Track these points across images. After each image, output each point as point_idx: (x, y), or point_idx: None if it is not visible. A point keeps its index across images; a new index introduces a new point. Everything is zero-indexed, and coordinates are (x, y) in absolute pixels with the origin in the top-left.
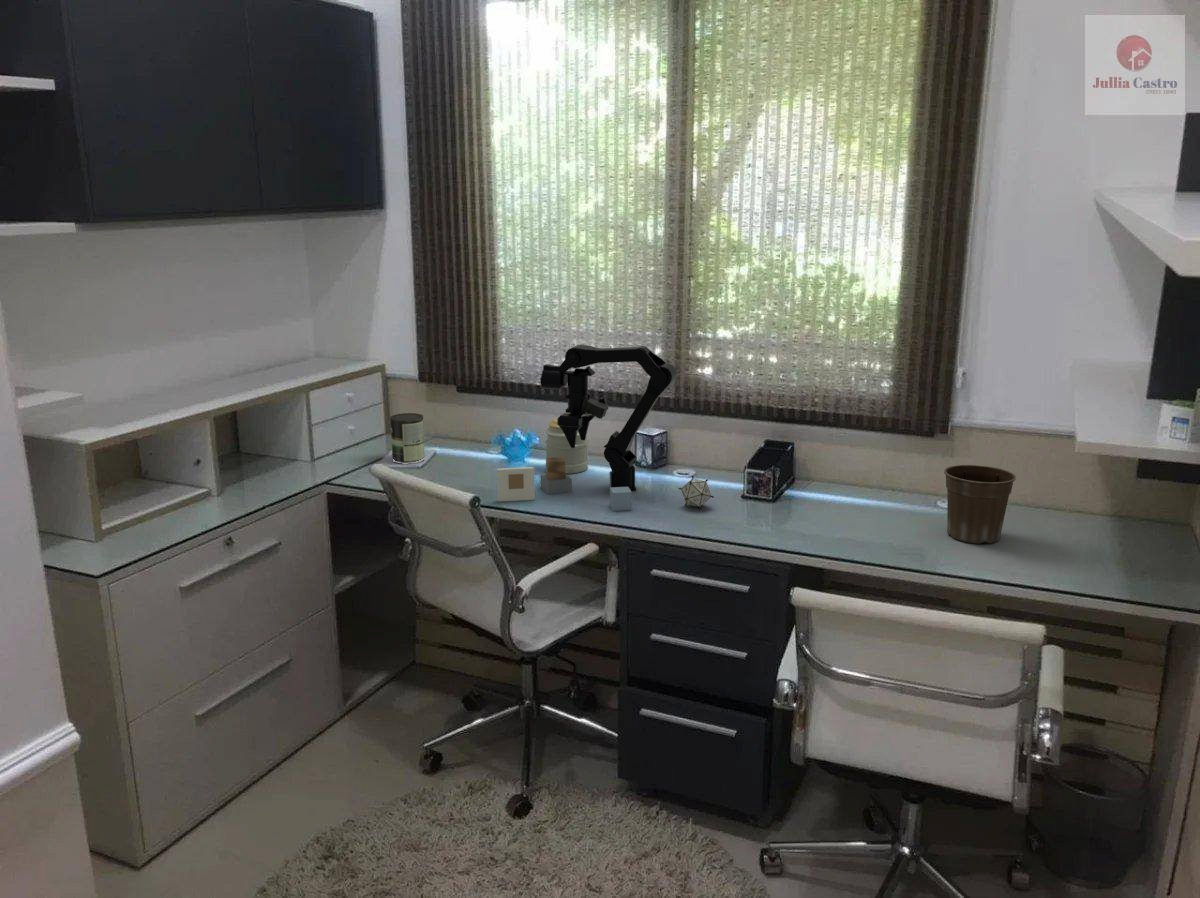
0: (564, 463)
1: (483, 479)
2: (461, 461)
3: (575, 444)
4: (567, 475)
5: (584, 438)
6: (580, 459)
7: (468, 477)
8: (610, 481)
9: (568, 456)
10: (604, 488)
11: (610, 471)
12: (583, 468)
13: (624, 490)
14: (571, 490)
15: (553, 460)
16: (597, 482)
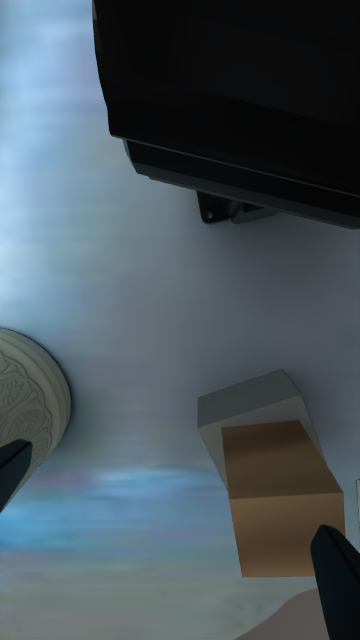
0: (337, 486)
1: (155, 596)
2: (3, 636)
3: (349, 557)
4: (246, 413)
5: (21, 455)
6: (8, 370)
7: (139, 624)
8: (261, 214)
9: (25, 430)
10: (245, 247)
11: (249, 206)
12: (25, 342)
13: None
14: (283, 372)
15: (308, 548)
16: (163, 280)
